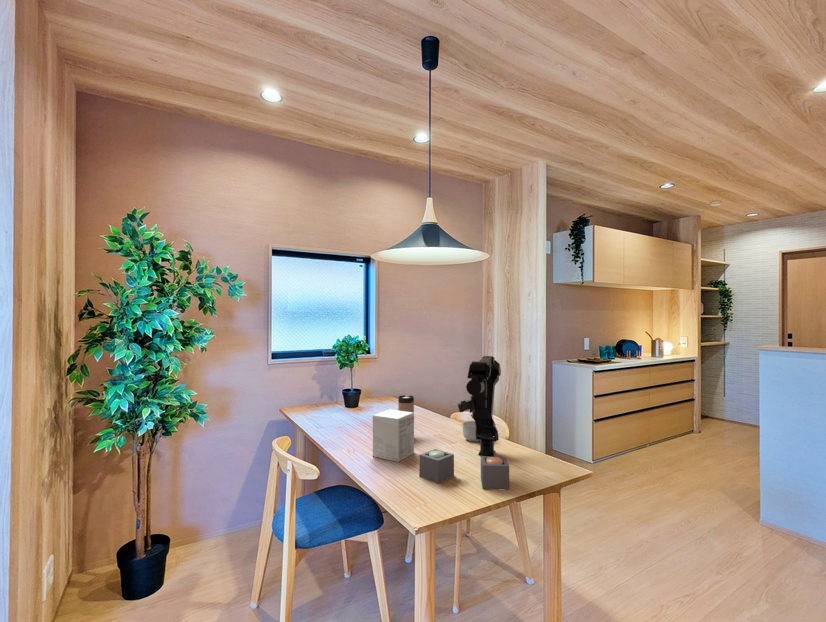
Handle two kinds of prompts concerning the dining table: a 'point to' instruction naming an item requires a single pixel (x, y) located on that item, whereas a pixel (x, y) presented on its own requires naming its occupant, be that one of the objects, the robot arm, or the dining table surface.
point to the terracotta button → (494, 460)
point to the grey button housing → (436, 467)
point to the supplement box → (393, 434)
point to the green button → (436, 454)
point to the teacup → (469, 430)
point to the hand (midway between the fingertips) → (478, 434)
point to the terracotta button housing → (494, 474)
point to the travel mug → (406, 403)
